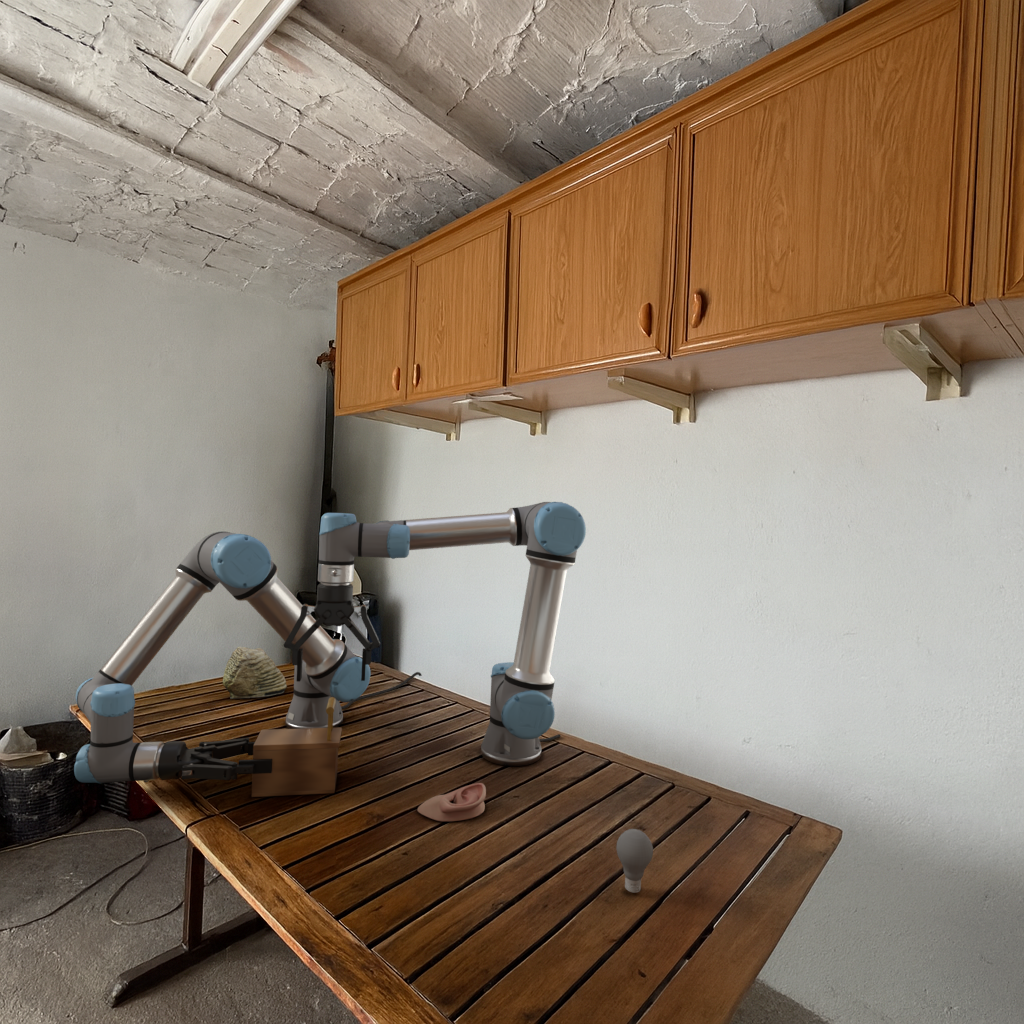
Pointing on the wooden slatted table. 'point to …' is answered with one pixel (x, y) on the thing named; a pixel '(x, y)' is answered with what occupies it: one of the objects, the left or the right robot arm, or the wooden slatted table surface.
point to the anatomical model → (456, 804)
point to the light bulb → (634, 857)
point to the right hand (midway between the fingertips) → (331, 679)
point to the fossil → (252, 674)
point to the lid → (301, 736)
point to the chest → (296, 772)
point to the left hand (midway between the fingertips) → (275, 756)
